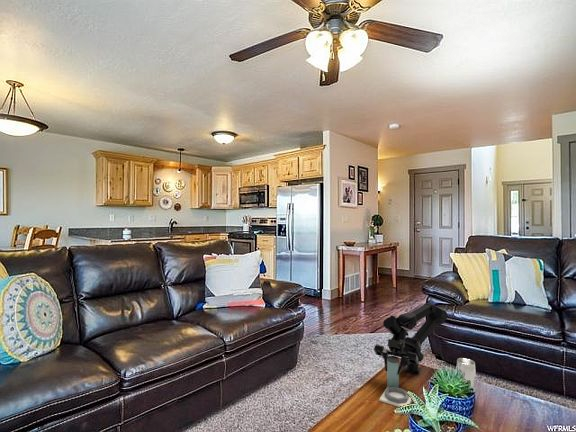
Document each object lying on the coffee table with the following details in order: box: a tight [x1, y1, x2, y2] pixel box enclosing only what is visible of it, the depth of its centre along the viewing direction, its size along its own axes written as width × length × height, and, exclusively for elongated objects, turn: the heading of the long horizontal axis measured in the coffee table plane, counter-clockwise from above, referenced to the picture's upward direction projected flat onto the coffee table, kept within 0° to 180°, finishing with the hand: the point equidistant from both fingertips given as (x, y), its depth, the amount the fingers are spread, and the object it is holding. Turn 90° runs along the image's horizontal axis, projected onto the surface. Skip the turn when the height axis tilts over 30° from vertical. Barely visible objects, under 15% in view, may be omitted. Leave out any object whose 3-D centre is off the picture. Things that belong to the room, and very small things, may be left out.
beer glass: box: [456, 357, 477, 389], centre depth 136 cm, size 7×7×15 cm
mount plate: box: [379, 386, 413, 408], centre depth 135 cm, size 11×11×2 cm
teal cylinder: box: [386, 355, 400, 388], centre depth 145 cm, size 5×5×12 cm
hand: (392, 372), depth 143 cm, fingers closed on teal cylinder, 5 cm apart
